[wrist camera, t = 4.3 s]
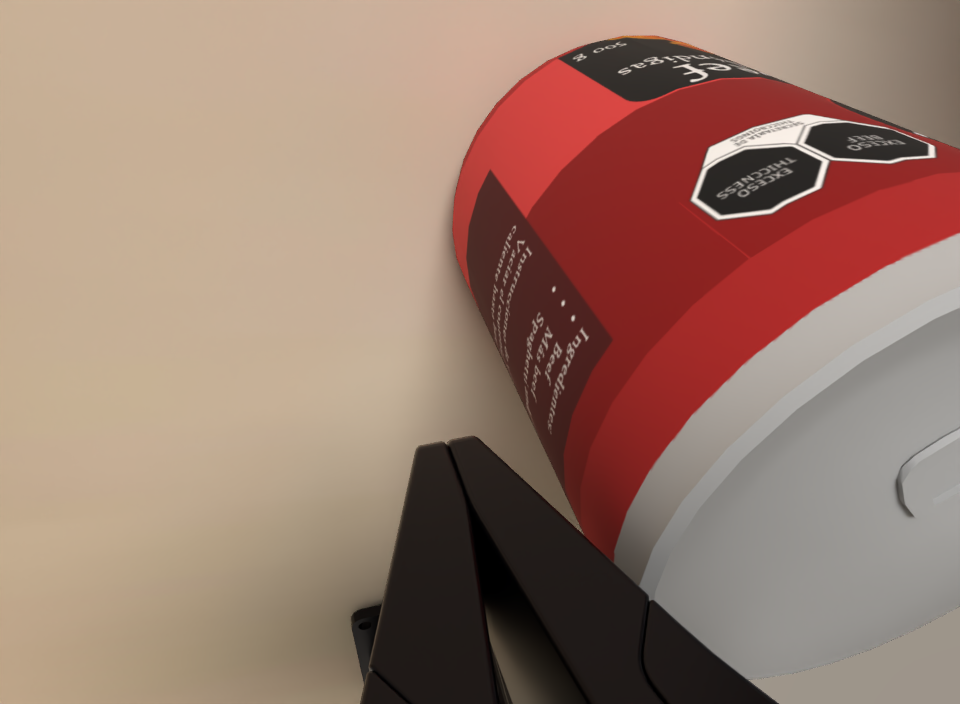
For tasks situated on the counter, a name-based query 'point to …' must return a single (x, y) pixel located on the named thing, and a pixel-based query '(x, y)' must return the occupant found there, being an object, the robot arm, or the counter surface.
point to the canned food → (731, 340)
